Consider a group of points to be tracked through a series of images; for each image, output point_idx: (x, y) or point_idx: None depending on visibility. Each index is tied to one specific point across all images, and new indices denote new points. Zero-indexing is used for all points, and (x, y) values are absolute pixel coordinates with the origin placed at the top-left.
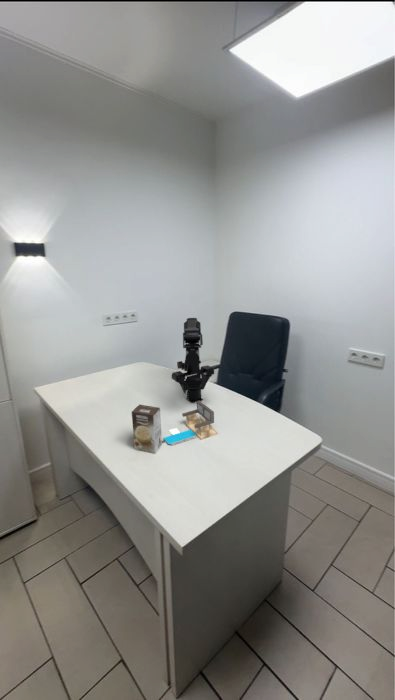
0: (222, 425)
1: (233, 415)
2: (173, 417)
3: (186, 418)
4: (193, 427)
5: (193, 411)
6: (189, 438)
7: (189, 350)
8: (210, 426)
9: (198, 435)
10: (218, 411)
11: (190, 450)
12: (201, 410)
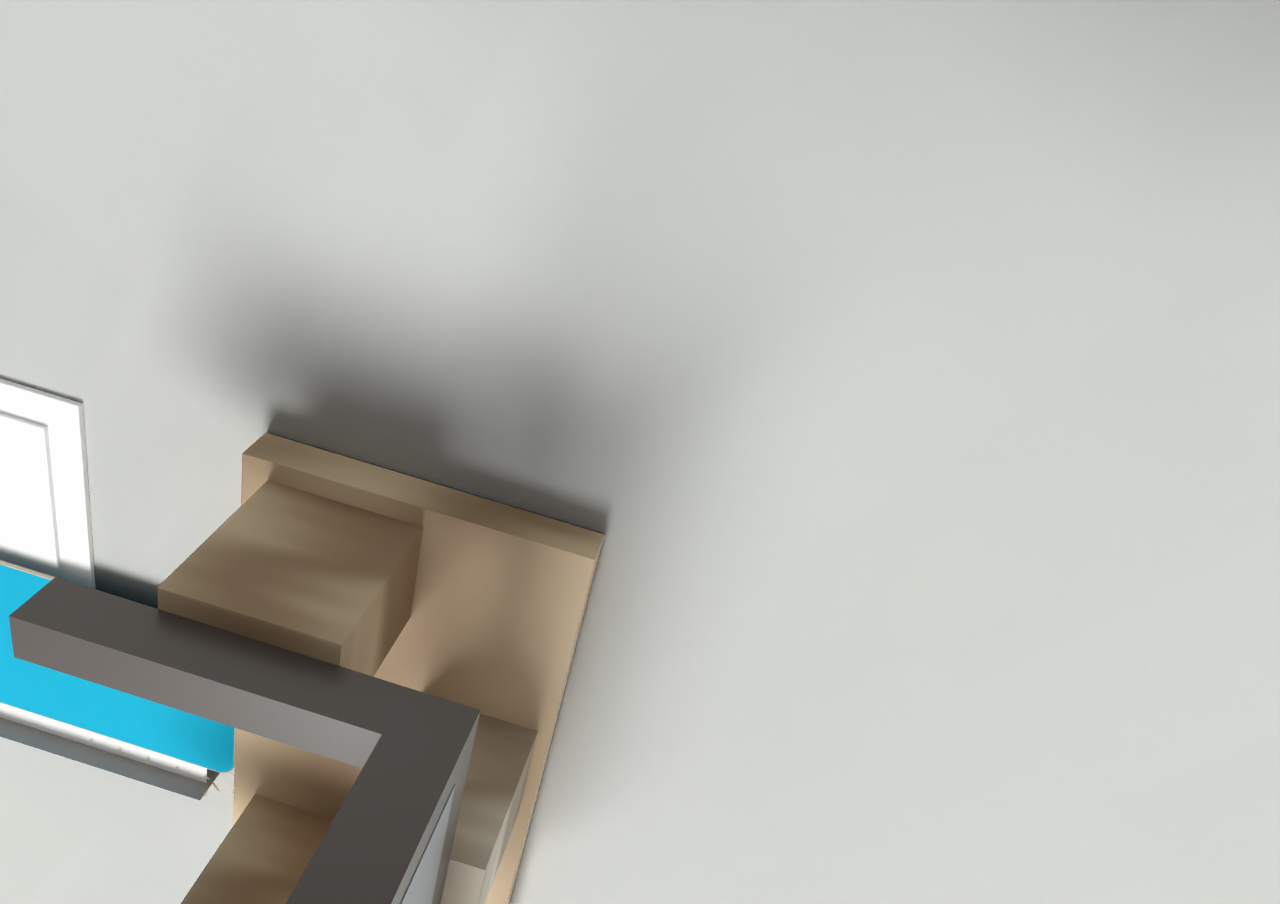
0: (731, 865)
1: (1157, 855)
2: (201, 19)
3: (216, 534)
4: None
5: (263, 736)
6: (111, 761)
7: None
8: (516, 822)
9: (234, 818)
10: (1142, 587)
11: (51, 850)
12: None
